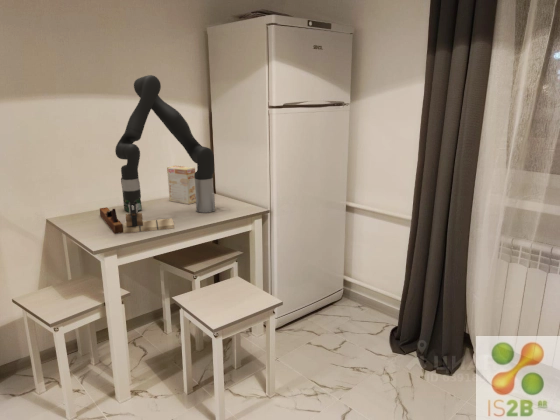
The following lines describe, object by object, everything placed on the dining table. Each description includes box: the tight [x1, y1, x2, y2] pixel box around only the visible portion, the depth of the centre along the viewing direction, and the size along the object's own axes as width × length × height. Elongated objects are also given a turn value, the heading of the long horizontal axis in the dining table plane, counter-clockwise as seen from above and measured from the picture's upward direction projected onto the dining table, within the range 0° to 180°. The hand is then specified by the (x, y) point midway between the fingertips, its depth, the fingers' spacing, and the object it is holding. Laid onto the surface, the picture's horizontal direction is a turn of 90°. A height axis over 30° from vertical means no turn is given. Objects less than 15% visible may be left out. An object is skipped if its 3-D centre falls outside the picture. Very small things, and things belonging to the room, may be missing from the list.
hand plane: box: [99, 207, 124, 234], centre depth 208 cm, size 34×5×10 cm, turn 34°
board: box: [123, 217, 175, 234], centre depth 203 cm, size 22×11×2 cm, turn 108°
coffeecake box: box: [166, 165, 196, 205], centre depth 245 cm, size 15×7×20 cm, turn 58°
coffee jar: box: [120, 177, 143, 213], centre depth 228 cm, size 10×8×19 cm
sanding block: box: [125, 212, 144, 227], centre depth 200 cm, size 7×4×5 cm, turn 108°
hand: (134, 224), depth 201 cm, fingers open, 6 cm apart
